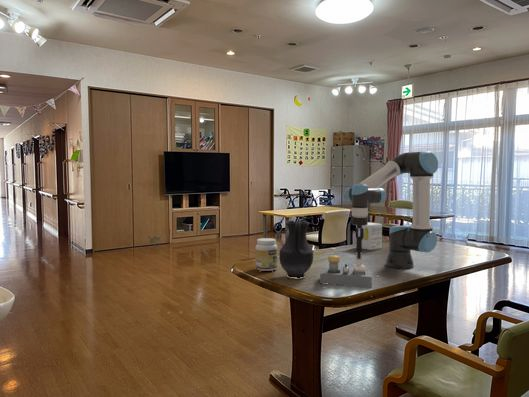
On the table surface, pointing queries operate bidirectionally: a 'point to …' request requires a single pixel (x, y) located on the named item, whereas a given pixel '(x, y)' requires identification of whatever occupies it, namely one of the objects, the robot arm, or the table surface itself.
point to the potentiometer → (345, 269)
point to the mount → (346, 278)
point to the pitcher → (296, 250)
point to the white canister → (372, 236)
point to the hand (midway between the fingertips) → (358, 264)
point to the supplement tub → (266, 254)
